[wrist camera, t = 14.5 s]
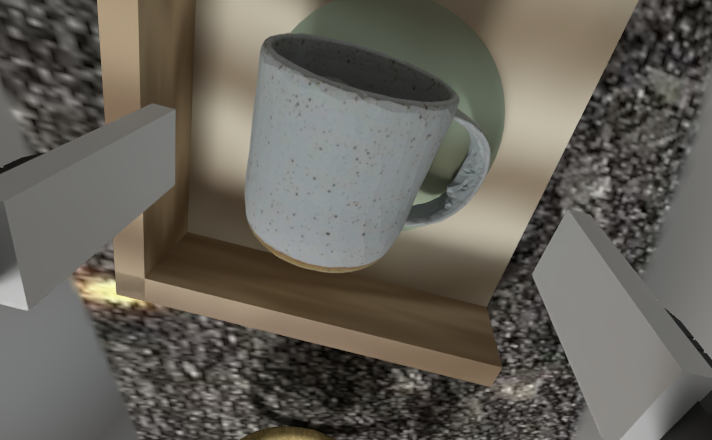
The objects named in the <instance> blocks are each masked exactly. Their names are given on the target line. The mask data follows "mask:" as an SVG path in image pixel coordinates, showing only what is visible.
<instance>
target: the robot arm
mask: <svg viewBox="0 0 712 440" xmlns="http://www.w3.org/2000/svg"><path fill="white" fill-rule="evenodd" d="M175 120H176V109H173V108H169V107H165V106H161V105H157V104H153V103H152V104H150V105H147V106H145V107H143V108H141V109H139V110H137V111H135V112H132V113H130V114H128V115H126V116H124V117H122V118H120V119H117V120H115V121H113V122H111V123H109V124H107V125H105V126H102V127H100V128H98V129H96V130H94V131H92V132H90V133H87V134H85V135H83V136H81V137H79V138H77V139H75V140H72V141H70V142H68V143H66V144H64V145H62V146H60V147H57V148H55V149H53V150H51V151H49V152H47V153H41V154H36V155H32V156H27V157H23V158H20V159H18V160H16V161H13V162H11V163H9V164H7V165H5V166H4V167H3V168H0V304H2V305H6V306H10V307H15V308H19V309H23V310H27V311H29V310H30V309H31V308H32V307H34V306H35V305H36V304H37V303H38V302H39V301H40V300H42V299H43V298H44V297H45V296H46V295H48V294H49V293H50V292H51V291H52V290H53V289H55V288H56V287H57V286H58V285H59V284H60V283H61V282H63V281H64V280H65V279H66V278H67V277H69V276H70V275H71V274H72V273H73V272H74V271H75V270H77V269H78V268H79V267H80V266H81V265H82V264H84V263H85V262H86V261H87V260H88V259H89V258H91V257H92V256H93V255H94V254H95V253H96V252H98V251H99V250H100V249H101V248H102V247H103V246H104V245H106V244H107V243H108V242H109V241H110V240H111V239H113V238H114V237H115V236H116V235H117V234H118V233H120V232H121V231H122V230H123V229H124V228H125V227H127V226H128V225H129V224H130V223H131V222H132V221H133V220H135V219H136V218H137V217H138V216H139V215H140V214H142V213H143V212H144V211H145V210H146V209H147V208H149V207H150V206H151V205H152V204H153V203H154V202H156V201H157V200H158V199H159V198H160V197H161V196H162V195H164V194H165V193H166V192H167V191H168V190H169V189H171V188H172V187H173V186H174V185H175ZM532 276H533V278H534V281H535V283H536V285H537V288H538V290H539V293H540V295H541V297H542V300H543V302H544V304H545V307H546V309H547V311H548V314H549V316H550V318H551V321H552V323H553V325H554V328H555V330H556V332H557V335H558V337H559V339H560V342H561V344H562V346H563V349H564V351H565V353H566V356H567V358H568V361H569V363H570V365H571V368H572V370H573V372H574V375H575V377H576V379H577V382H578V384H579V386H580V389H581V391H582V393H583V396H584V398H585V400H586V403H587V405H588V407H589V410H590V412H591V414H592V417H593V419H594V421H595V424H596V426H597V428H598V431H599V433H600V436H601V438H602V440H712V360H711V358H710V357H709V356H708V355H707V354H706V353H704V350H703V348H702V347H701V346H700V345H699V343H698V342H697V341H696V340H693V338H694V337H693V336H692V335H691V333H690V332H689V331H688V330H687V329H686V327H685V326H684V325H683V324H682V322H681V321H680V320H678V319H677V318H676V317H675V316H674V315H672V314H671V313H670V312H669V311H668V310H666V309H665V308H664V307H663V306H662V305H661V304H660V302H659V301H658V300H657V299H656V297H655V296H654V295H653V293H652V292H651V291H650V290H649V288H648V287H647V286H646V285H645V283H644V282H643V281H642V280H641V278H640V277H639V276H638V274H637V273H636V272H635V271H634V269H633V268H632V267H631V266H630V264H629V263H628V262H627V261H626V259H625V258H624V257H623V255H622V254H621V253H620V252H619V250H618V249H617V248H616V247H615V245H614V244H613V243H612V242H611V240H610V239H609V238H608V236H607V235H606V234H605V233H604V231H603V230H602V229H601V228H600V226H599V225H598V224H597V223H596V221H595V220H594V219H593V218H592V216H591V215H589V214H585V213H581V212H577V211H573V210H569V209H568V210H567V212H566V214H565V215H564V217H563V219H562V221H561V223H560V224H559V226H558V228H557V230H556V232H555V233H554V235H553V237H552V239H551V241H550V242H549V244H548V246H547V248H546V250H545V252H544V253H543V255H542V257H541V259H540V261H539V262H538V264H537V266H536V268H535V270H534V271H533V273H532Z"/></svg>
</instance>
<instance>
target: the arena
mask: <svg viewBox="0 0 712 440" xmlns="http://www.w3.org/2000/svg"><path fill="white" fill-rule="evenodd" d="M638 1H639V0H97V5H98V20H99V35H100V50H101V66H102V81H103V96H104V111H105V125H107V124H109V123H111V122H113V121H115V120H117V119H120V118H122V117H124V116H126V115H128V114H130V113H132V112H135V111H137V110H139V109H141V108H143V107H145V106H147V105H150V104H152V103H153V104H157V105H161V106H165V107H169V108H173V109H176V120H175V185H174V186H173V187H172V188H171V189H169V190H168V191H167V192H166V193H165V194H164V195H162V196H161V197H160V198H159V199H158V200H157V201H156V202H154V203H153V204H152V205H151V206H150V207H149V208H147V209H146V210H145V211H144V212H143V213H142V214H140V215H139V216H138V217H137V218H136V219H135V220H133V221H132V222H131V223H130V224H129V225H128V226H127V227H125V228H124V229H123V230H122V231H121V232H120V233H118V234H117V235H116V236H115V237H114V238H113V247H114V262H115V277H116V292H117V294H118V295H122V296H126V297H130V298H134V299H138V300H142V301H146V302H150V303H154V304H158V305H162V306H166V307H170V308H174V309H178V310H182V311H186V312H191V313H195V314H199V315H203V316H207V317H211V318H215V319H219V320H223V321H227V322H231V323H235V324H239V325H243V326H247V327H251V328H255V329H259V330H263V331H267V332H271V333H275V334H279V335H283V336H287V337H291V338H295V339H299V340H303V341H307V342H311V343H315V344H319V345H324V346H328V347H332V348H336V349H340V350H344V351H348V352H352V353H356V354H360V355H364V356H368V357H372V358H376V359H380V360H384V361H388V362H392V363H396V364H400V365H404V366H408V367H412V368H416V369H420V370H424V371H428V372H432V373H436V374H440V375H444V376H448V377H452V378H457V379H461V380H465V381H469V382H473V383H477V384H481V385H485V386H489V387H491V386H492V384H493V383H494V381H495V379H496V377H497V376H498V374H499V372H500V370H501V369H502V365H501V361H500V357H499V353H498V350H497V346H496V342H495V338H494V334H493V330H492V326H491V322H490V318H489V314H488V311H487V305H488V303H489V301H490V299H491V297H492V295H493V293H494V291H495V289H496V287H497V285H498V283H499V281H500V279H501V277H502V275H503V273H504V271H505V269H506V267H507V265H508V263H509V261H510V259H511V257H512V255H513V253H514V251H515V249H516V247H517V245H518V243H519V241H520V239H521V237H522V235H523V233H524V231H525V229H526V227H527V225H528V223H529V221H530V219H531V216H532V214H533V212H534V210H535V208H536V206H537V204H538V202H539V200H540V198H541V196H542V194H543V192H544V190H545V188H546V186H547V184H548V182H549V180H550V178H551V176H552V174H553V172H554V170H555V168H556V166H557V164H558V162H559V160H560V158H561V156H562V154H563V152H564V150H565V148H566V146H567V144H568V142H569V140H570V138H571V136H572V134H573V132H574V130H575V128H576V126H577V124H578V122H579V120H580V118H581V116H582V114H583V112H584V110H585V108H586V106H587V104H588V102H589V100H590V98H591V96H592V93H593V91H594V89H595V87H596V85H597V83H598V81H599V79H600V77H601V75H602V73H603V71H604V69H605V67H606V65H607V63H608V61H609V59H610V57H611V55H612V53H613V51H614V49H615V47H616V45H617V43H618V41H619V39H620V37H621V35H622V33H623V31H624V29H625V27H626V25H627V23H628V21H629V19H630V17H631V15H632V13H633V11H634V9H635V7H636V5H637V3H638ZM285 33H292V34H298V33H304V34H310V35H316V36H323V37H327V38H331V39H336V40H342V41H345V42H349V43H354V44H356V45H359V46H363V47H366V48H370V49H373V50H377V51H379V52H382V53H384V54H387V55H389V56H391V57H394V58H397V59H400V60H404V61H406V62H408V63H410V64H413V65H415V66H417V67H419V68H421V69H423V70H425V71H427V72H429V73H431V74H432V75H434V76H436V77H438V78H440V79H441V80H443V81H444V82H445V83H446V84H448V85H449V86H450V87H451V88H452V89H453V90H454V91H455V92H456V93H457V94H458V96H459V104H458V107H457V109H459V110H460V111H462V112H463V113H464V114H466V115H467V116H468V117H469V118H471V119H472V120H473V121H475V122H476V123H477V124H478V126H479V127H480V128H481V129H482V130H483V132H484V134H485V136H486V138H487V140H488V143H489V145H490V150H491V162H490V167H489V170H488V173H487V175H486V177H485V179H484V181H483V183H482V185H481V186H480V188H479V190H478V191H477V193H476V194H475V195H474V196H473V197H472V199H471V200H470V201H469V202H468V203H467V204H466V205H465V206H464V207H463V208H462V209H461V210H459V211H458V212H457V213H455V214H454V215H452V216H450V217H449V218H447V219H445V220H443V221H441V222H438V223H434V224H430V225H426V226H414V227H412V226H403V228H402V230H401V232H400V234H399V236H398V237H397V239H396V240H395V242H394V243H393V244H392V246H391V247H390V249H389V250H388V251H387V253H386V254H385V255H384V256H383V257H382V258H381V259H380V260H379V261H377V262H376V263H375V264H373V265H371V266H369V267H366V268H364V269H361V270H357V271H352V272H345V273H328V272H320V271H315V270H310V269H306V268H302V267H299V266H297V265H294V264H291V263H289V262H287V261H285V260H283V259H281V258H279V257H277V256H275V255H274V254H273V253H272V252H271V251H269V250H268V249H267V248H266V247H265V246H263V245H262V244H261V243H260V241H259V240H258V239H257V238H256V237H255V235H254V234H253V232H252V230H251V228H250V227H249V224H248V220H247V216H246V206H245V194H244V193H245V180H246V170H247V163H248V157H249V150H250V139H251V129H252V118H253V110H254V101H255V94H256V86H257V78H258V68H259V57H260V50H261V46H262V44H263V42H264V41H265V39H267V38H268V37H270V36H274V35H278V34H285ZM469 145H470V135H469V132H468V131H467V129H466V128H465V127H464V126H463V125H461V124H460V123H459V122H457V121H454V120H452V122H451V124H450V126H449V129H448V131H447V133H446V135H445V137H444V139H443V141H442V143H441V145H440V147H439V149H438V151H437V154H436V156H435V158H434V160H433V162H432V164H431V166H430V168H429V170H428V172H427V175H426V177H425V179H424V181H423V183H422V185H421V187H420V189H419V191H418V193H417V195H416V198H415V200H414V202H413V205H416V204H422V203H426V202H429V201H431V200H433V199H435V198H437V197H439V196H441V195H442V194H443V193H445V192H446V189H447V186H448V185H449V184H450V183H452V181H453V180H454V178H455V176H456V175H457V173H458V171H459V170H460V168H461V166H462V164H463V163H464V161H465V159H466V157H467V154H468V153H469Z"/></svg>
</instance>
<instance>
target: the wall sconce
mask: <svg viewBox="0 0 712 440" xmlns="http://www.w3.org/2000/svg"><path fill="white" fill-rule="evenodd" d="M240 440H336V439H334V438H332V437H331V436H329V435H327V434H324V433H322V432H319V431H316V430H313V429H308V428H303V427H294V426H281V427H272V428H266V429H263V430H259V431H256V432H254V433H251V434H249V435H247V436H245V437H244V438H242V439H240Z"/></svg>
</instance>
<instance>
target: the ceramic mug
mask: <svg viewBox="0 0 712 440" xmlns="http://www.w3.org/2000/svg"><path fill="white" fill-rule="evenodd" d="M458 104H459V96H458V94H457V93H456V92H455V91H454V90H453V89H452V88H451V87H450V86H449V85H448V84H446V83H445V82H444V81H443V80H441V79H440V78H438V77H436V76H434V75H432V74H431V73H429V72H427V71H425V70H423V69H421V68H419V67H417V66H415V65H413V64H410V63H408V62H406V61H404V60H400V59H397V58H394V57H391V56H389V55H387V54H384V53H382V52H379V51H377V50H373V49H370V48H366V47H363V46H359V45H356V44H354V43H349V42H345V41H342V40H336V39H331V38H327V37H323V36H316V35H310V34H304V33H298V34H292V33H285V34H278V35H274V36H270V37H268V38H267V39H265V41H264V42H263V44H262V46H261V50H260V57H259V68H258V78H257V86H256V94H255V101H254V110H253V118H252V129H251V139H250V150H249V157H248V163H247V170H246V180H245V193H244V194H245V206H246V216H247V220H248V224H249V227H250V228H251V230H252V232H253V234H254V235H255V237H256V238H257V239H258V240H259V241H260V243H261V244H262V245H263V246H265V247H266V248H267V249H268V250H269V251H271V252H272V253H273V254H274V255H275V256H277V257H279V258H281V259H283V260H285V261H287V262H289V263H291V264H294V265H297V266H299V267H302V268H306V269H310V270H315V271H320V272H328V273H345V272H352V271H357V270H361V269H364V268H366V267H369V266H371V265H373V264H375V263H376V262H377V261H379V260H380V259H381V258H382V257H383V256H384V255H385V254H386V253H387V251H388V250H389V249H390V247H391V246H392V244H393V243H394V242H395V240H396V239H397V237H398V236H399V234H400V232H401V230H402V228H403V226H412V227H414V226H426V225H430V224H434V223H438V222H441V221H443V220H445V219H447V218H449V217H450V216H452V215H454V214H455V213H457V212H458V211H459V210H461V209H462V208H463V207H464V206H465V205H466V204H467V203H468V202H469V201H470V200H471V199H472V197H473V196H474V195H475V194H476V193H477V191H478V190H479V188H480V186H481V185H482V183H483V181H484V179H485V177H486V175H487V173H488V170H489V167H490V162H491V150H490V145H489V143H488V140H487V138H486V136H485V134H484V132H483V130H482V129H481V128H480V127H479V126H478V124H477V123H476V122H475V121H473V120H472V119H471V118H469V117H468V116H467V115H466V114H464V113H463V112H462V111H460V110H459V109H457V107H458ZM452 120H454V121H457V122H459V123H460V124H461V125H463V126H464V127H465V128H466V129H467V131H468V132H469V135H470V145H469V153H468V154H467V157H466V159H465V161H464V163H463V164H462V166H461V168H460V170H459V171H458V173H457V175H456V176H455V178H454V180H453V181H452V183H450V184H449V185H448V186H447V189H446V192H445V193H443V194H442V195H441V196H439V197H437V198H435V199H433V200H431V201H429V202H426V203H422V204H416V205H413V202H414V200H415V198H416V195H417V193H418V191H419V189H420V187H421V185H422V183H423V181H424V179H425V177H426V175H427V172H428V170H429V168H430V166H431V164H432V162H433V160H434V158H435V156H436V154H437V151H438V149H439V147H440V145H441V143H442V141H443V139H444V137H445V135H446V133H447V131H448V129H449V126H450V124H451V122H452Z"/></svg>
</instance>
